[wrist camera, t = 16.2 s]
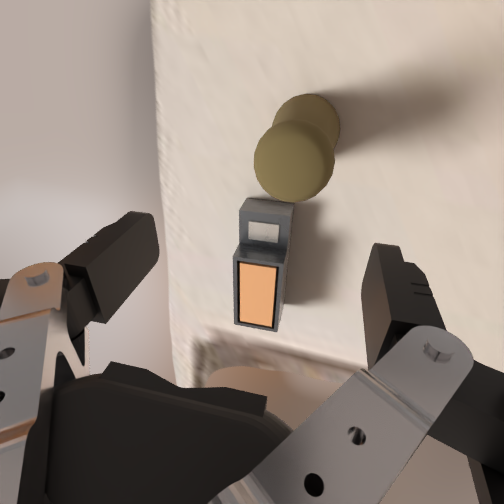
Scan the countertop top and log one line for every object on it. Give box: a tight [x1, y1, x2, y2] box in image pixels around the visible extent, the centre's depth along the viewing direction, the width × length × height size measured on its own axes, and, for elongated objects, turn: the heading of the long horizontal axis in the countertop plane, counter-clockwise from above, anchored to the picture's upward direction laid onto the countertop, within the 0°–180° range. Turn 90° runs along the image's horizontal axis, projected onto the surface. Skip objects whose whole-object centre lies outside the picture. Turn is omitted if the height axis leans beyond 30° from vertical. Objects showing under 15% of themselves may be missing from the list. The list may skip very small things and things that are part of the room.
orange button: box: [240, 261, 278, 327], centre depth 33 cm, size 8×4×2 cm, turn 179°
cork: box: [254, 94, 340, 203], centre depth 23 cm, size 6×6×11 cm
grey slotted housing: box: [233, 198, 294, 332], centre depth 34 cm, size 14×5×6 cm, turn 179°
